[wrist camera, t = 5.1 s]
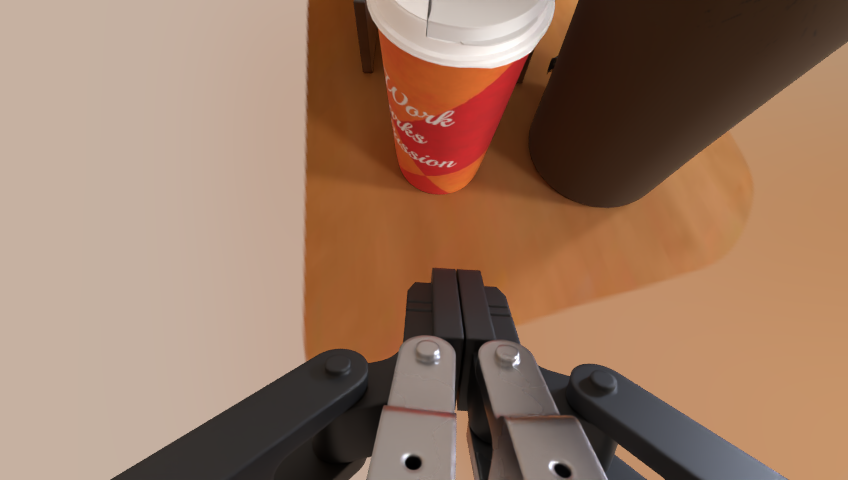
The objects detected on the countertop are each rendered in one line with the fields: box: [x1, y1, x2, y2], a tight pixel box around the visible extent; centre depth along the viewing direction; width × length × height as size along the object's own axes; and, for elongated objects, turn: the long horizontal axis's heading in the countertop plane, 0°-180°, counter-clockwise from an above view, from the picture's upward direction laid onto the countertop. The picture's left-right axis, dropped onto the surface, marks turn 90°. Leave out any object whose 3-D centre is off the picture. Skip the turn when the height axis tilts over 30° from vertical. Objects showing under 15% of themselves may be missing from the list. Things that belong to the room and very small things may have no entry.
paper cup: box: [366, 0, 555, 194], centre depth 22 cm, size 8×8×14 cm
